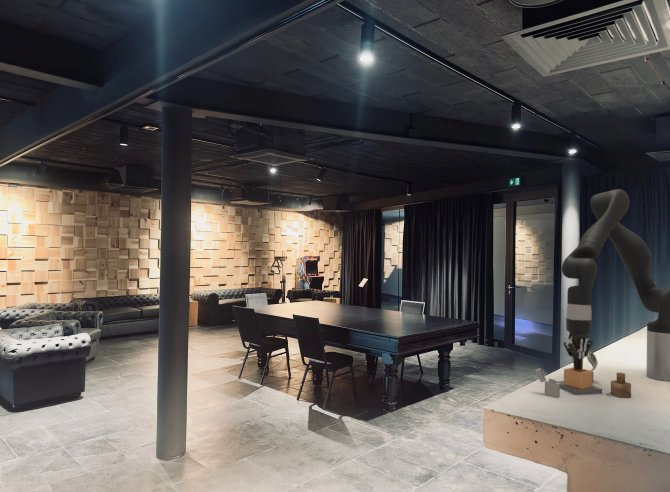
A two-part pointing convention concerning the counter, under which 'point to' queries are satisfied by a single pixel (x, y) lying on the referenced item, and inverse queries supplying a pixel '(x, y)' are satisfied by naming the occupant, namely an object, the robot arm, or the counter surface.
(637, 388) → the counter surface
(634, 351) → the counter surface
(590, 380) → the orange square tube
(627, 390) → the stand
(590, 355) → the watch
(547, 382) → the lighter
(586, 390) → the gray square plate
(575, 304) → the robot arm
